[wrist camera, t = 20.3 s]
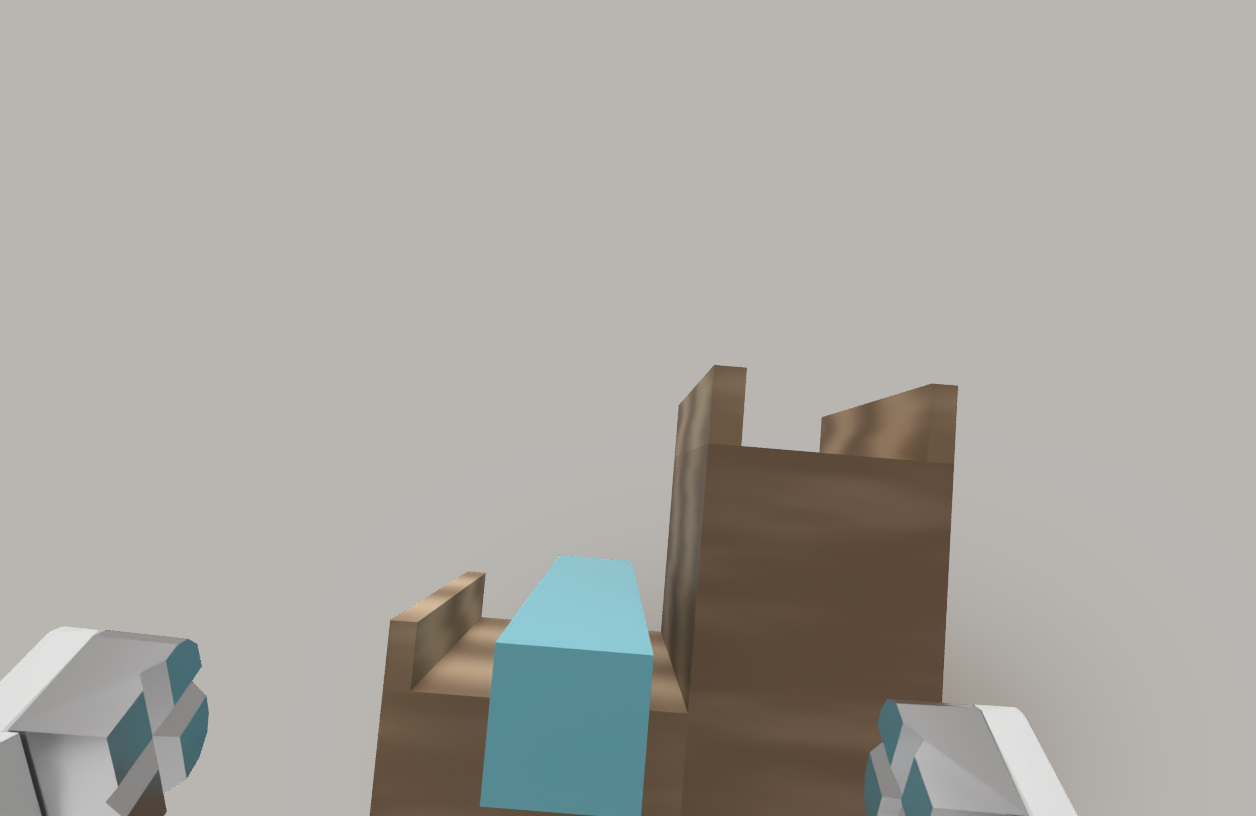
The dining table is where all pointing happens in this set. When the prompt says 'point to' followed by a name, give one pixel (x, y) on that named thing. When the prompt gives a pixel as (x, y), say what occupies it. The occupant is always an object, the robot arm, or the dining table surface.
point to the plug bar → (571, 695)
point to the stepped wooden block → (730, 621)
